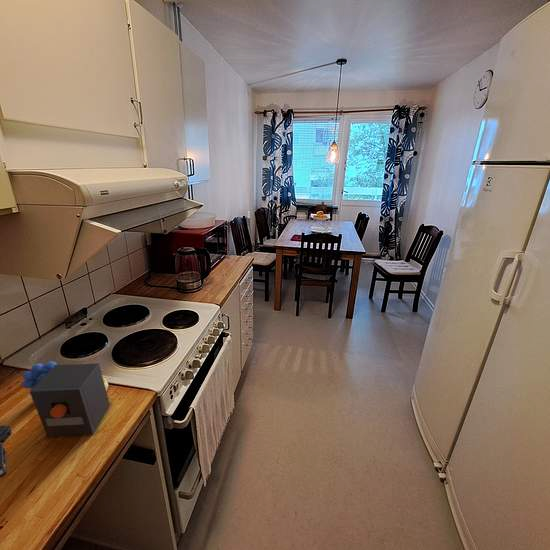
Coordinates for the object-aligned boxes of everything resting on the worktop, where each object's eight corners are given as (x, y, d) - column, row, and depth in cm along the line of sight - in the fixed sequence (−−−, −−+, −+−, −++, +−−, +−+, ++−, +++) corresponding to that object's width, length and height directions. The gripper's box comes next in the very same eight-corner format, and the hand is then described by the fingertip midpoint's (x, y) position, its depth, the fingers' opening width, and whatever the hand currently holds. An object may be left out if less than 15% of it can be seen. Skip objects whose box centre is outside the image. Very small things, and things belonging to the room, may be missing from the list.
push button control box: (46, 437, 77) (28, 392, 72) (69, 407, 87) (55, 364, 81) (92, 435, 78) (78, 390, 72) (110, 405, 88) (99, 363, 82)
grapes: (30, 410, 86) (17, 378, 81) (28, 397, 90) (16, 366, 86) (75, 391, 93) (65, 361, 89) (71, 380, 98) (62, 351, 93)
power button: (51, 418, 73) (48, 409, 72) (55, 413, 75) (52, 404, 74) (64, 417, 74) (61, 408, 72) (68, 412, 75) (65, 403, 74)
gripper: (-49, 511, 41) (35, 413, 57) (-150, 518, 40) (-36, 416, 56) (-29, 541, 44) (45, 439, 60) (-123, 547, 43) (-22, 442, 59)
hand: (6, 428), depth 58 cm, fingers closed
